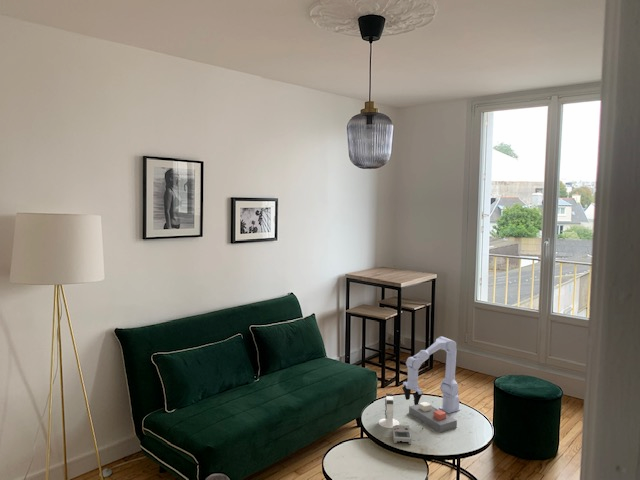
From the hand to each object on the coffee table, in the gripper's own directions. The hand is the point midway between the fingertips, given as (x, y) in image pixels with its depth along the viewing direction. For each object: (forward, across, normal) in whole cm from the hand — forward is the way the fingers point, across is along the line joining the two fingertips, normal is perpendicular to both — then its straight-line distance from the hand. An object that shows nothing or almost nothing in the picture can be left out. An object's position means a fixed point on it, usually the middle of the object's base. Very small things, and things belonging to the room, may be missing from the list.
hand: (411, 402), depth 274 cm
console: (+10, +6, +10) cm, 15 cm away
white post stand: (+10, -2, -14) cm, 18 cm away
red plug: (+7, +12, +10) cm, 17 cm away
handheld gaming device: (+11, +14, -18) cm, 25 cm away
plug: (+7, 0, +10) cm, 12 cm away
